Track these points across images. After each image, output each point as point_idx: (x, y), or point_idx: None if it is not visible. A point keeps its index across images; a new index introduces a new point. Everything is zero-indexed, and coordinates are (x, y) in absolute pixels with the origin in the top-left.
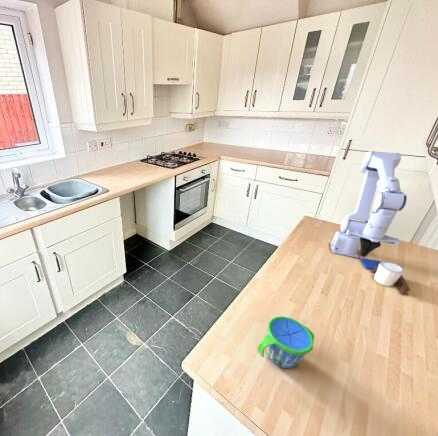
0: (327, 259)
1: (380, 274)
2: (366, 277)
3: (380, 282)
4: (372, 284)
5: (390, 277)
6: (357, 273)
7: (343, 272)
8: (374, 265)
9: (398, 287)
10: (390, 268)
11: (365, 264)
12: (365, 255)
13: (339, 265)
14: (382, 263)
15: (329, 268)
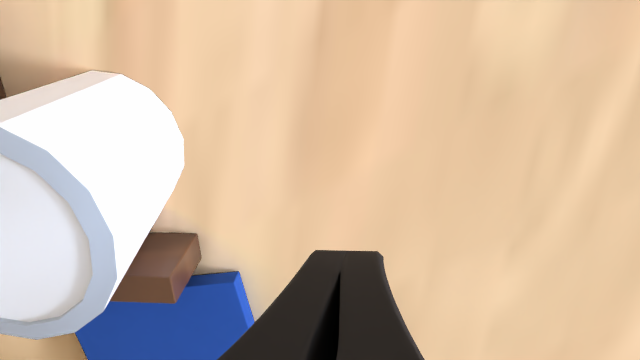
0: (579, 285)
1: (124, 135)
2: (247, 131)
3: (134, 86)
4: (202, 27)
5: (27, 96)
6: (321, 162)
7: (459, 114)
8: (176, 301)
9: (2, 92)
10: (4, 198)
11: (244, 323)
12: (316, 264)
13: (475, 228)
14: (91, 276)
15: (604, 123)
